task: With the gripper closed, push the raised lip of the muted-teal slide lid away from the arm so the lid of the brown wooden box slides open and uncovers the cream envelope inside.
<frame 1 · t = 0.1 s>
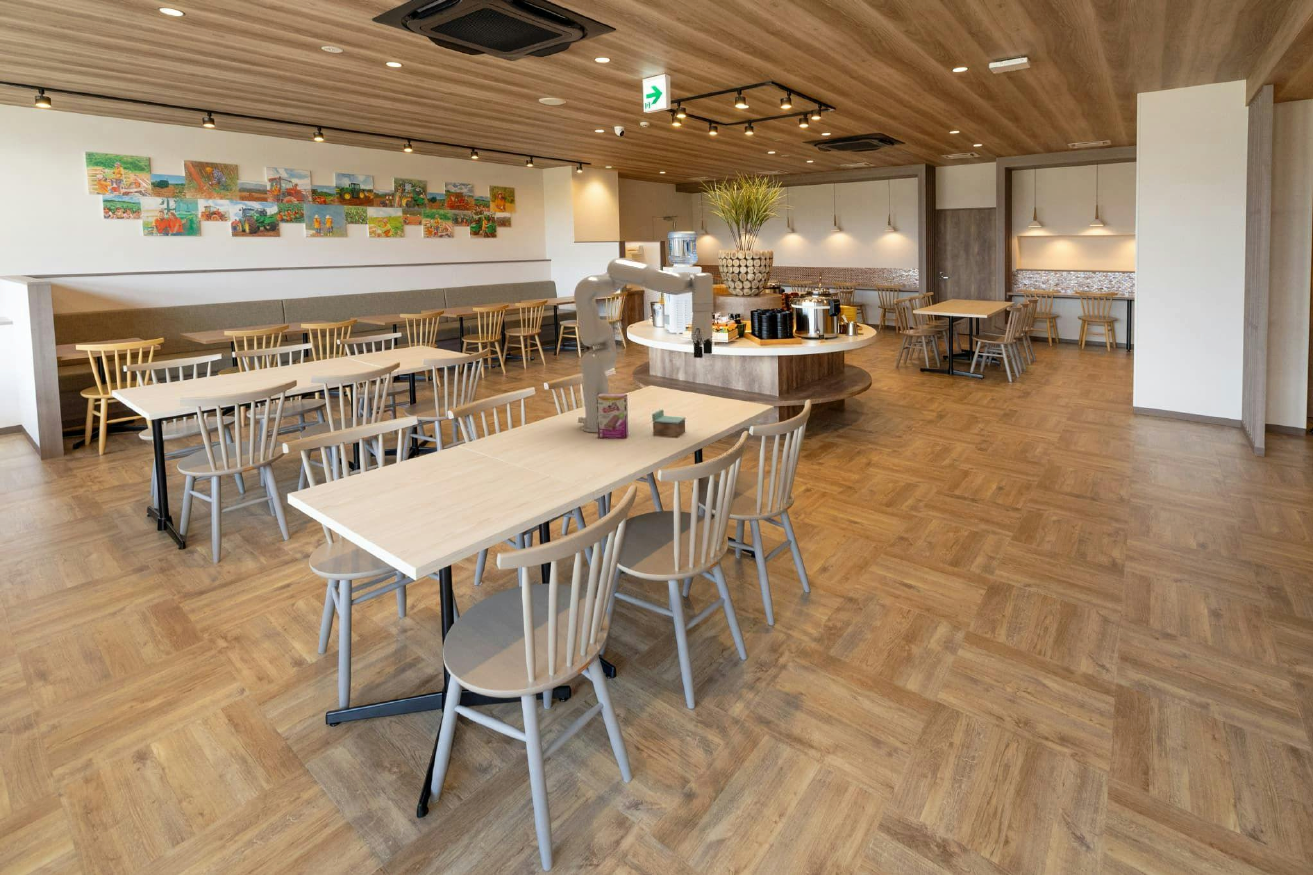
hand: (703, 355, 267), 31 cm above the table, fingers open, 9 cm apart
brown wooden box: (669, 433, 282), on the table
candy bar box: (613, 437, 280), on the table
lid: (668, 416, 281), point 7 cm above the table, slide at 0.0 cm
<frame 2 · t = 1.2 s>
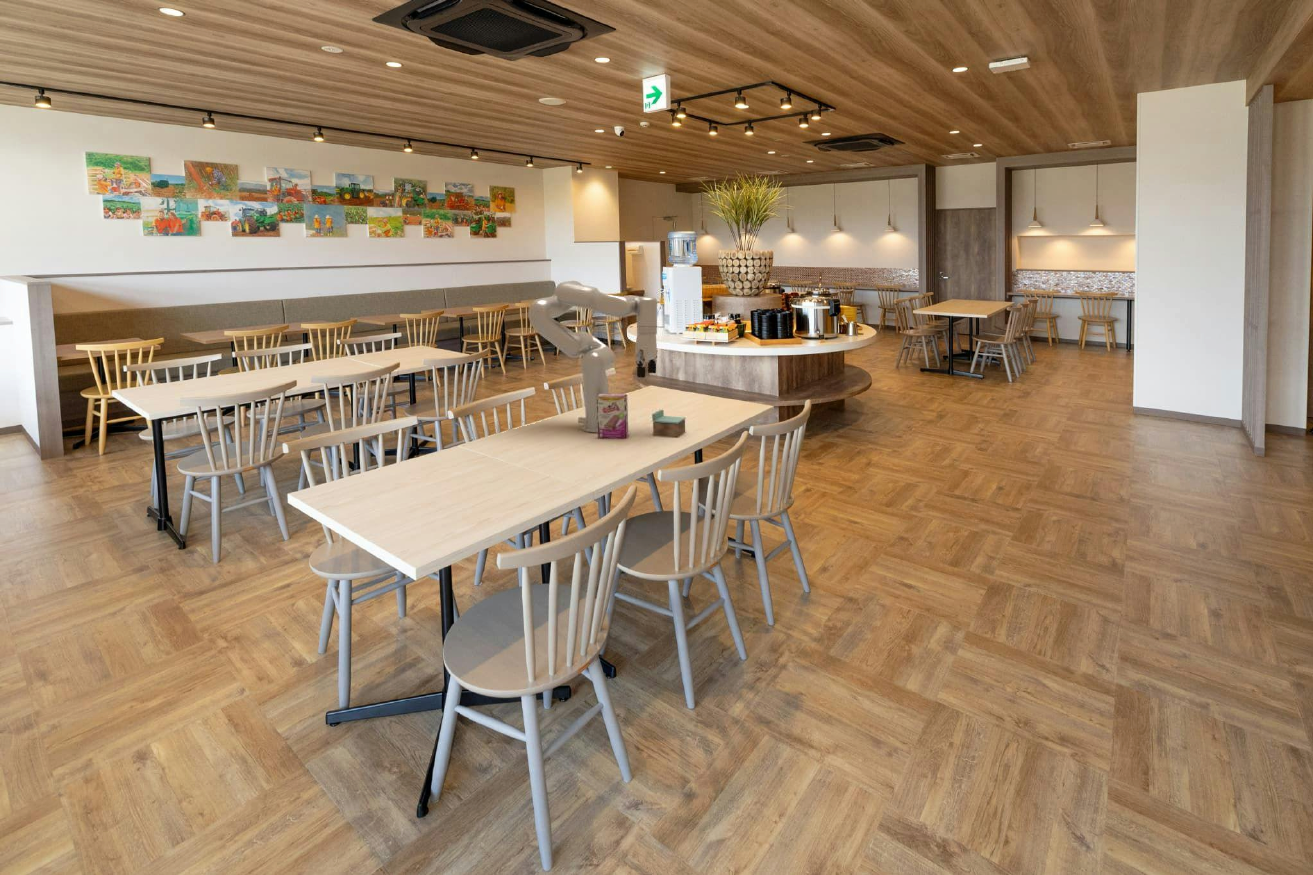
hand: (646, 375, 280), 23 cm above the table, fingers open, 9 cm apart
nothing on the table moved.
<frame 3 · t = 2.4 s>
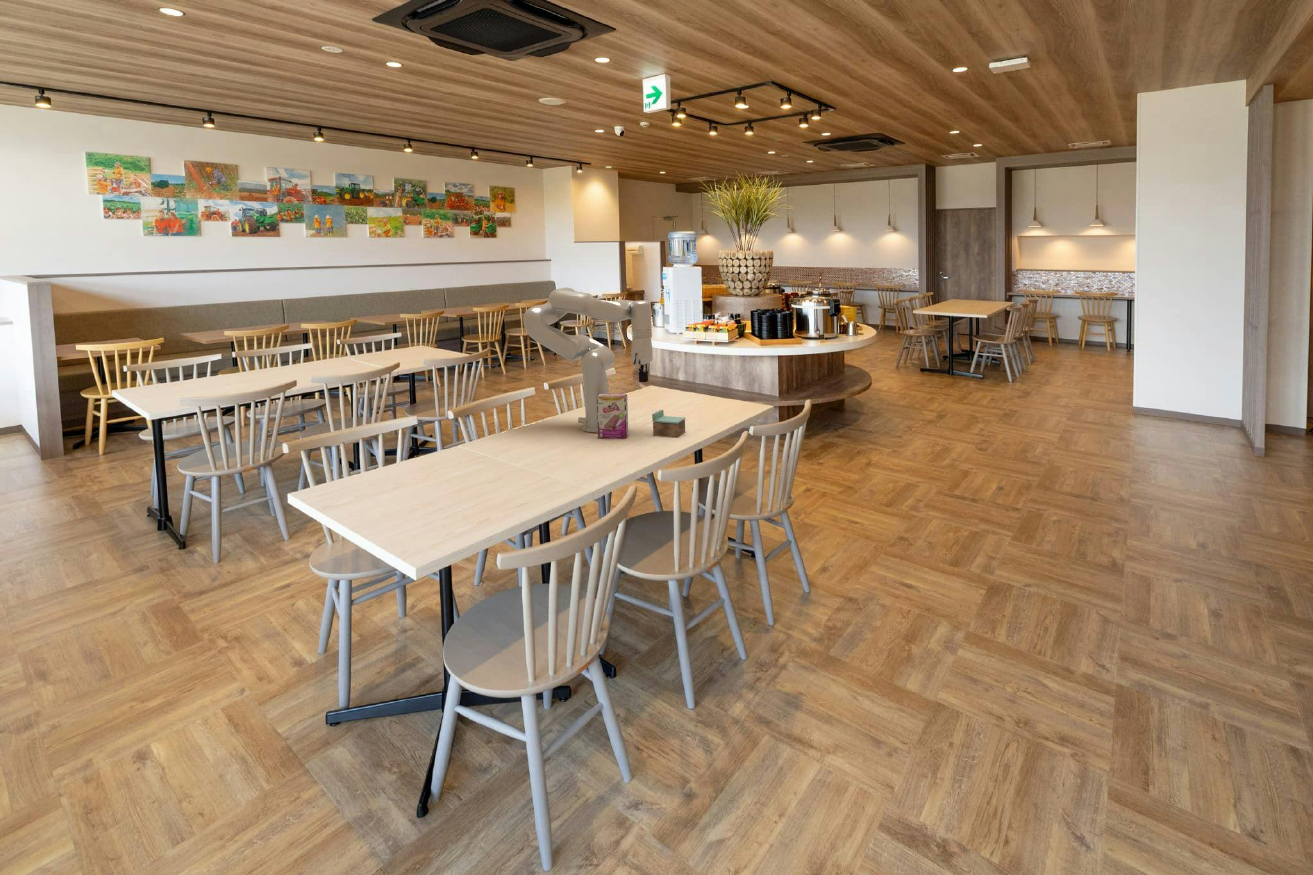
hand: (643, 381, 281), 20 cm above the table, fingers closed
nothing on the table moved.
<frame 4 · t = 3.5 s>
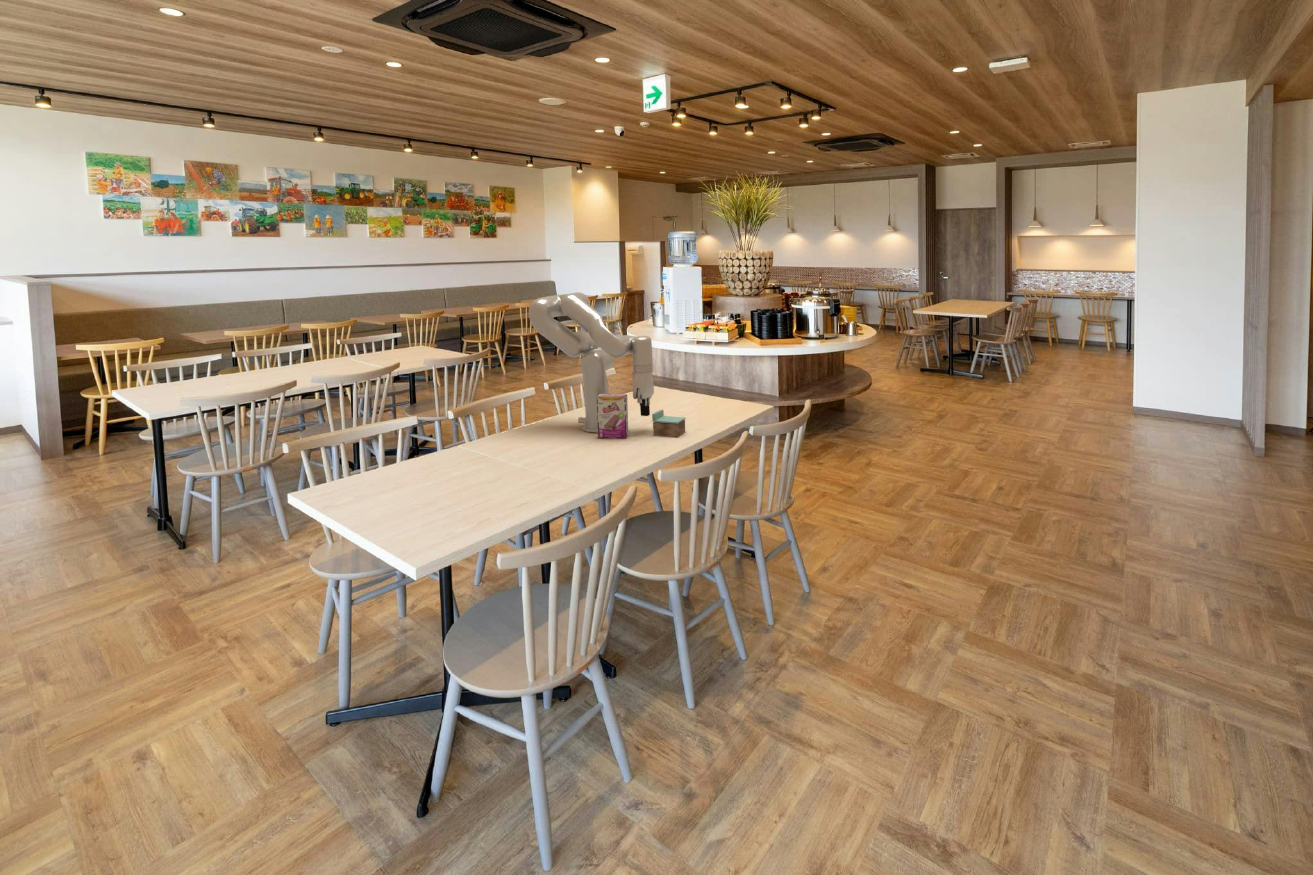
hand: (645, 415, 285), 7 cm above the table, fingers closed
nothing on the table moved.
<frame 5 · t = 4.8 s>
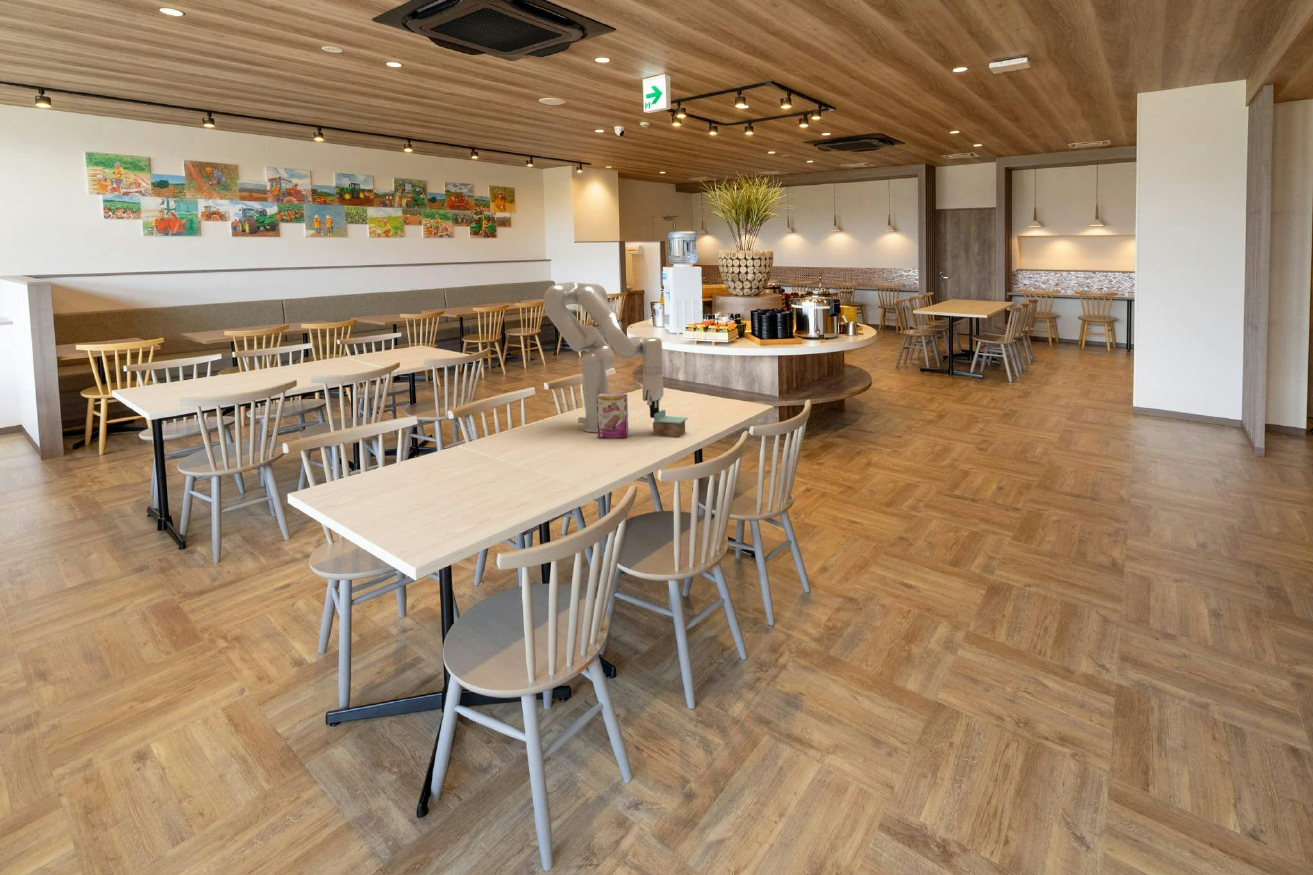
hand: (654, 417, 283), 6 cm above the table, fingers closed
lid: (670, 416, 280), point 7 cm above the table, slide at 0.8 cm, touching gripper
everything else where it was.
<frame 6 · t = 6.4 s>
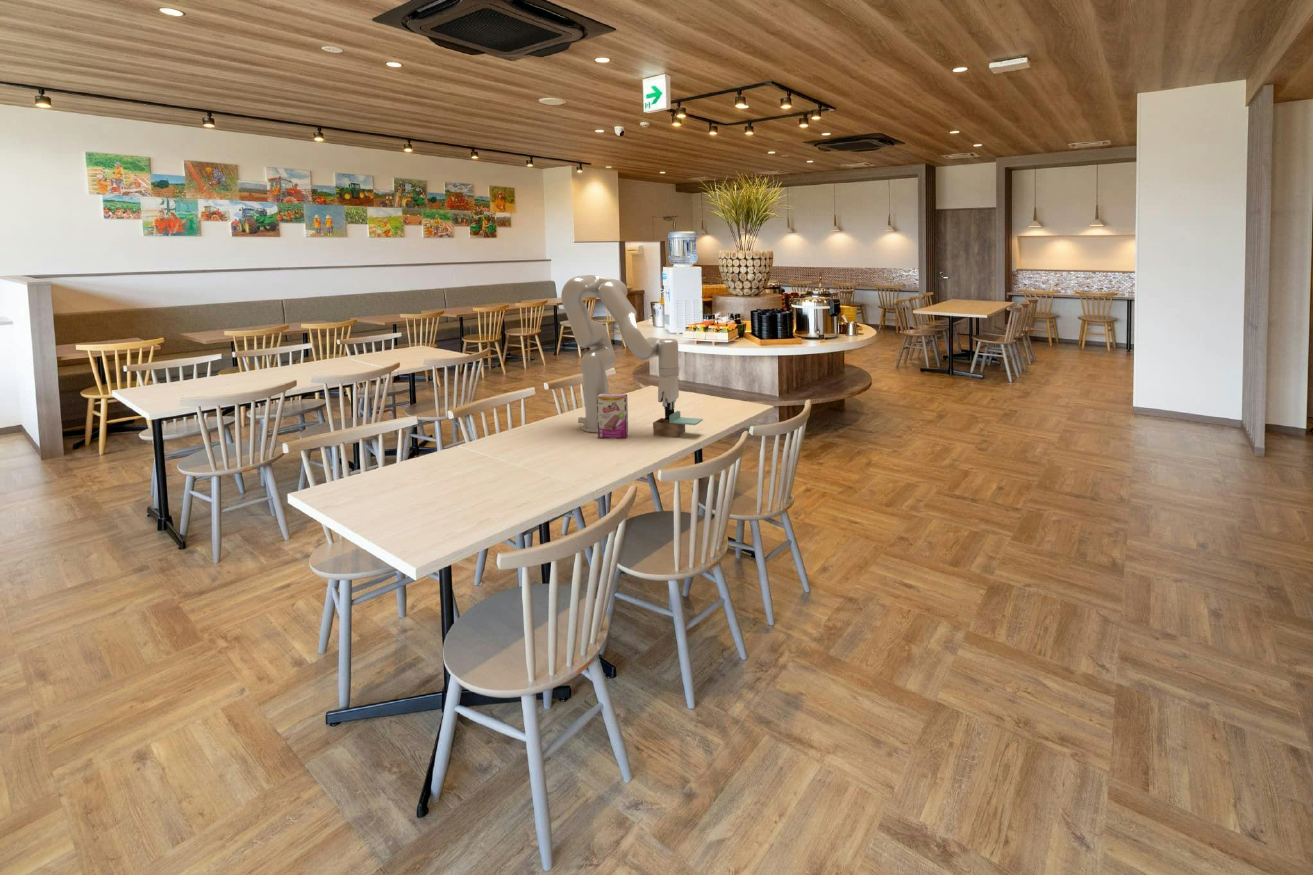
hand: (669, 419, 281), 6 cm above the table, fingers closed
lid: (686, 417, 278), point 7 cm above the table, slide at 7.1 cm, touching gripper
everything else where it was.
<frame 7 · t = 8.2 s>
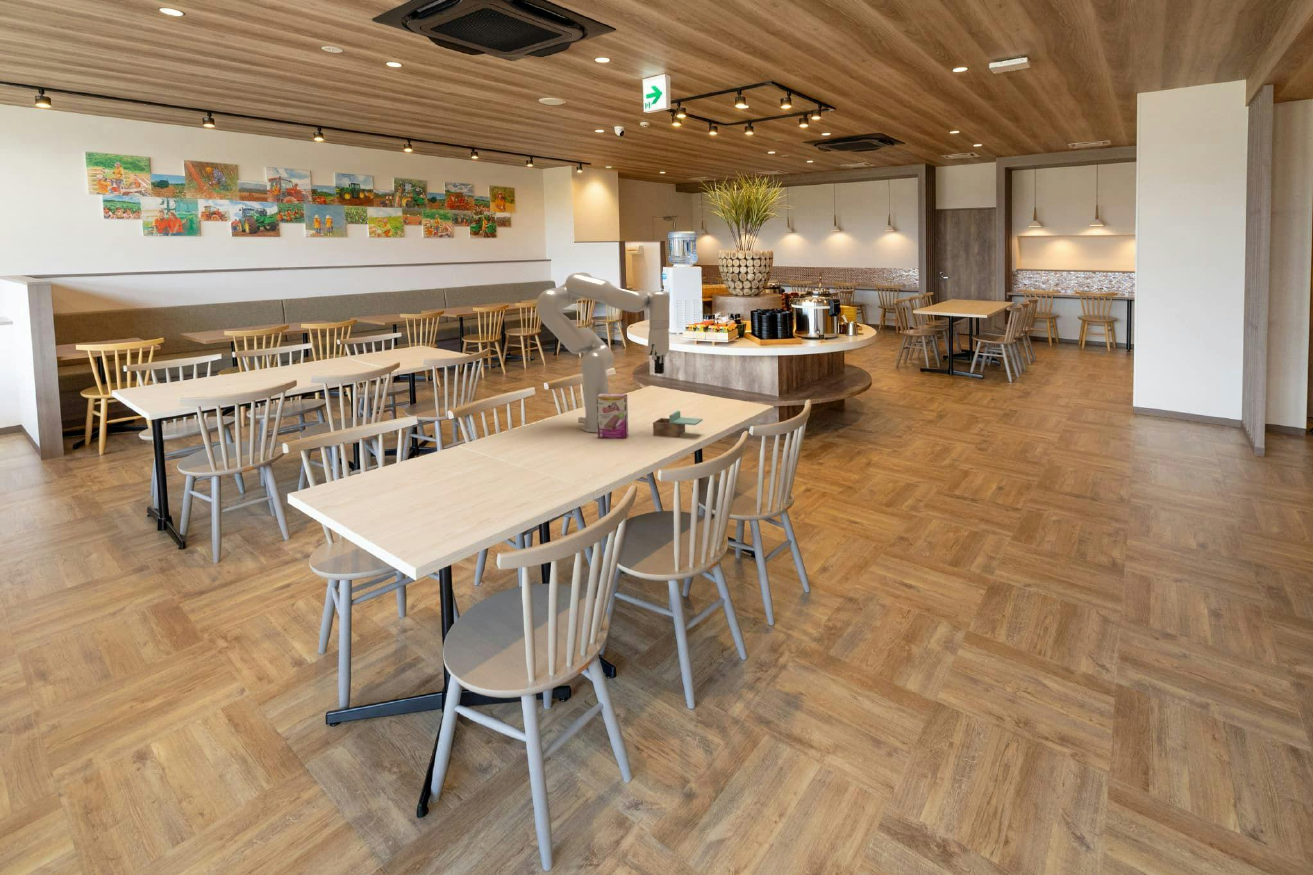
hand: (659, 373, 279), 23 cm above the table, fingers closed
lid: (686, 417, 278), point 7 cm above the table, slide at 7.1 cm
everything else where it was.
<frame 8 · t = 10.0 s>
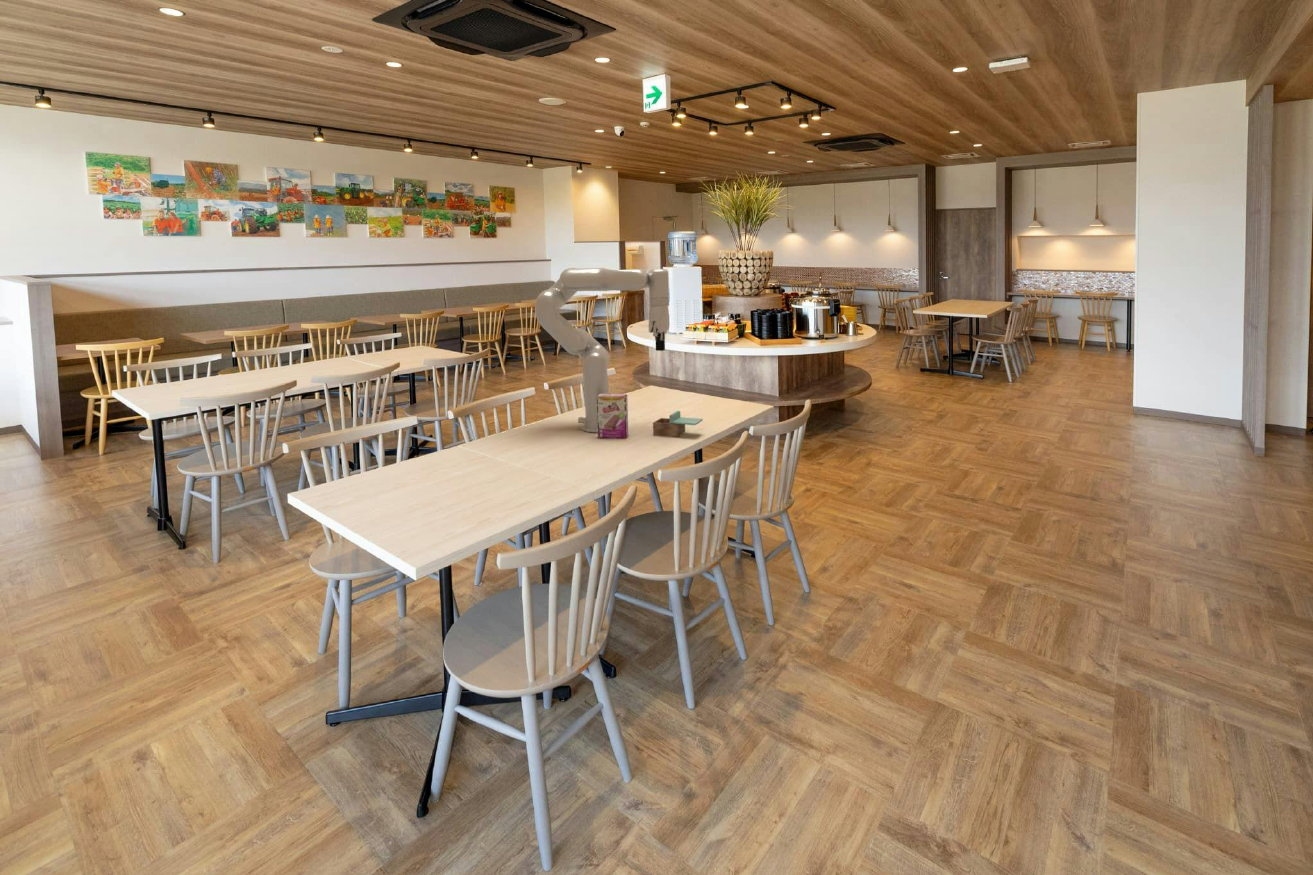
hand: (660, 350, 283), 31 cm above the table, fingers closed
nothing on the table moved.
at the end: lid slide at 7.1 cm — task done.
